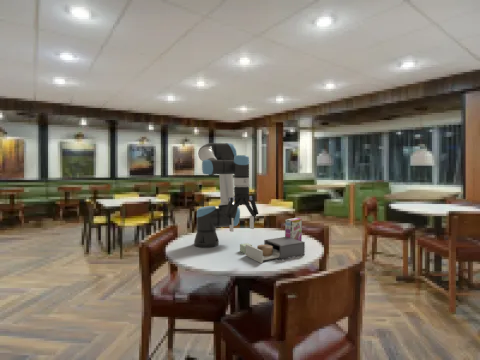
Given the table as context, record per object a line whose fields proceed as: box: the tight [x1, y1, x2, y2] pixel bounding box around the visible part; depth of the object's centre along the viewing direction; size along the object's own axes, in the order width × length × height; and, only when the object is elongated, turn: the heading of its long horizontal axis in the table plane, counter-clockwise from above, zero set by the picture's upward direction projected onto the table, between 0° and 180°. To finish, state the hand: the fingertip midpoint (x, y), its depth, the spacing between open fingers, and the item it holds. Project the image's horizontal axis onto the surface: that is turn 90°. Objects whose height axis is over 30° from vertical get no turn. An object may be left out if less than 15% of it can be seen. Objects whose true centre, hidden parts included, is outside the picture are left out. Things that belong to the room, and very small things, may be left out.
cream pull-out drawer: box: [245, 243, 280, 264], centre depth 154 cm, size 16×15×6 cm
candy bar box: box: [284, 217, 303, 241], centre depth 176 cm, size 11×5×16 cm, turn 135°
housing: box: [263, 236, 306, 261], centre depth 160 cm, size 16×15×7 cm
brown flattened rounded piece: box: [256, 244, 273, 256], centre depth 154 cm, size 8×8×4 cm
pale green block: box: [239, 242, 253, 254], centre depth 164 cm, size 5×5×4 cm
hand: (241, 229), depth 146 cm, fingers open, 11 cm apart
